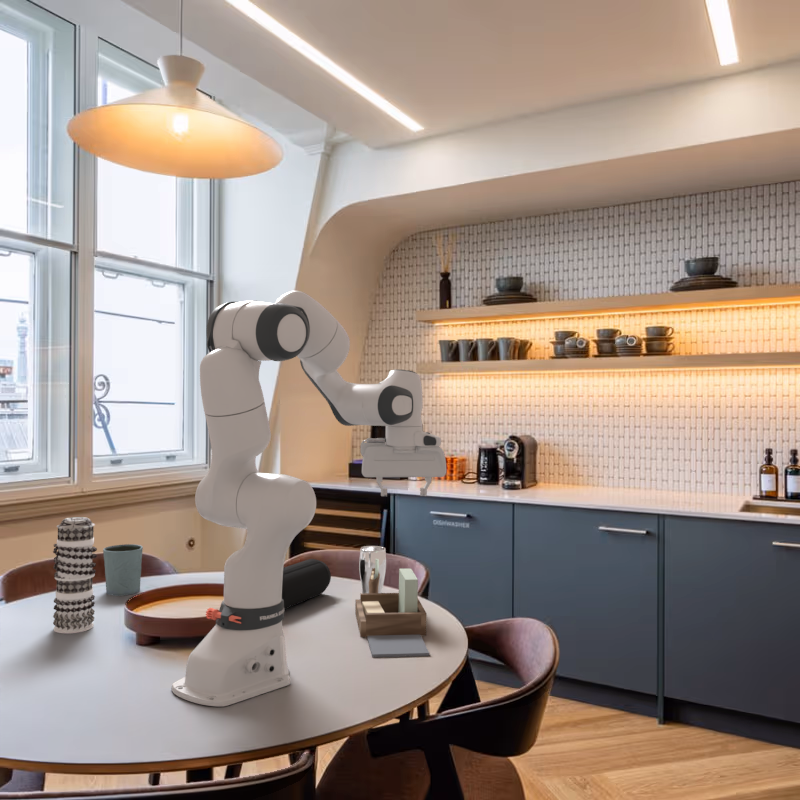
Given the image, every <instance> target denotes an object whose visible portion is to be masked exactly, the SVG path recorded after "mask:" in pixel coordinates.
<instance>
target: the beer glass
mask: <svg viewBox="0 0 800 800" xmlns="http://www.w3.org/2000/svg"><path fill="white" fill-rule="evenodd" d="M359 550H360V551H359V559H358V561H359V565H358V567H359V568H358V569H359V578H360V583H361V584H360V585H361V593H383V588H384V583H385V577H386V570H387V555H386V553H387V552H386V551H387V550H386V547H384V546H380V545H379V546H378V545H366V546H365V545H364V546H361V547H360V549H359Z"/></svg>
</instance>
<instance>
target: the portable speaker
mask: <svg viewBox="0 0 800 800" xmlns="http://www.w3.org/2000/svg"><path fill="white" fill-rule="evenodd" d="M331 579H332V575H331V570H330V568H329V566H328V564H326V563H325V562H323V560H319V559H316V558H315V559H314V558H309V559H305V560H302V561H300V562H296V563H293V564H291V565H287V566H283V580H282V599H283V600H284V610H287V609H289V608H291V607H294V606H295V605H297V604H298V605H299V604H300V603H301V604H302V603H303V602H306V601H307V600H310V599H312V598H315V597H317V596H319V595H321V594H323V593H324V592H326V590H327V588H328V587H329V585H330V583H331Z"/></svg>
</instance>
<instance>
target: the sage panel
mask: <svg viewBox="0 0 800 800" xmlns="http://www.w3.org/2000/svg"><path fill="white" fill-rule="evenodd" d="M418 585H419V579H418V578H417V576H416V573H414V571H413V569H412V568H399V569H398V593H399V605H398V613H399V612H417V603H418V599H419V598H418V597H419V595H418V593H419V591H418V589H419V586H418Z"/></svg>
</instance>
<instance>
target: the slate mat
mask: <svg viewBox="0 0 800 800" xmlns="http://www.w3.org/2000/svg"><path fill="white" fill-rule="evenodd" d="M366 638H367V641H368V642H367V643H368V646H369V650H370V654H371V657H372V658H394V657H395V658H397V657H428V656H429V657H430V651H429V649H428V648H427V645H426V643H425V641H424V639H423V637H422V636H421V635H420V634H419V635H375V636H367V637H366Z"/></svg>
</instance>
